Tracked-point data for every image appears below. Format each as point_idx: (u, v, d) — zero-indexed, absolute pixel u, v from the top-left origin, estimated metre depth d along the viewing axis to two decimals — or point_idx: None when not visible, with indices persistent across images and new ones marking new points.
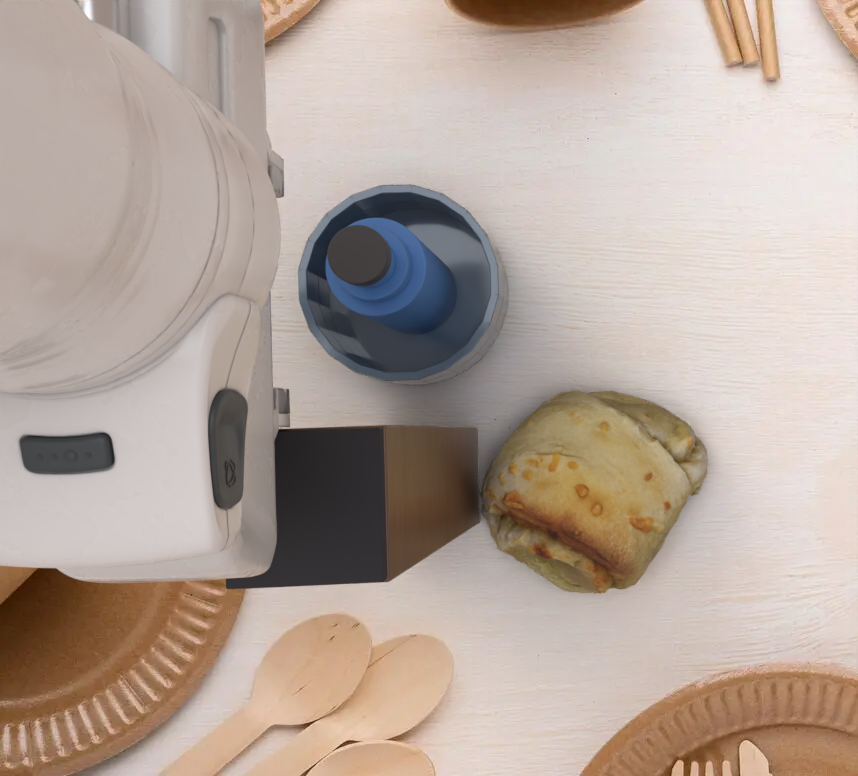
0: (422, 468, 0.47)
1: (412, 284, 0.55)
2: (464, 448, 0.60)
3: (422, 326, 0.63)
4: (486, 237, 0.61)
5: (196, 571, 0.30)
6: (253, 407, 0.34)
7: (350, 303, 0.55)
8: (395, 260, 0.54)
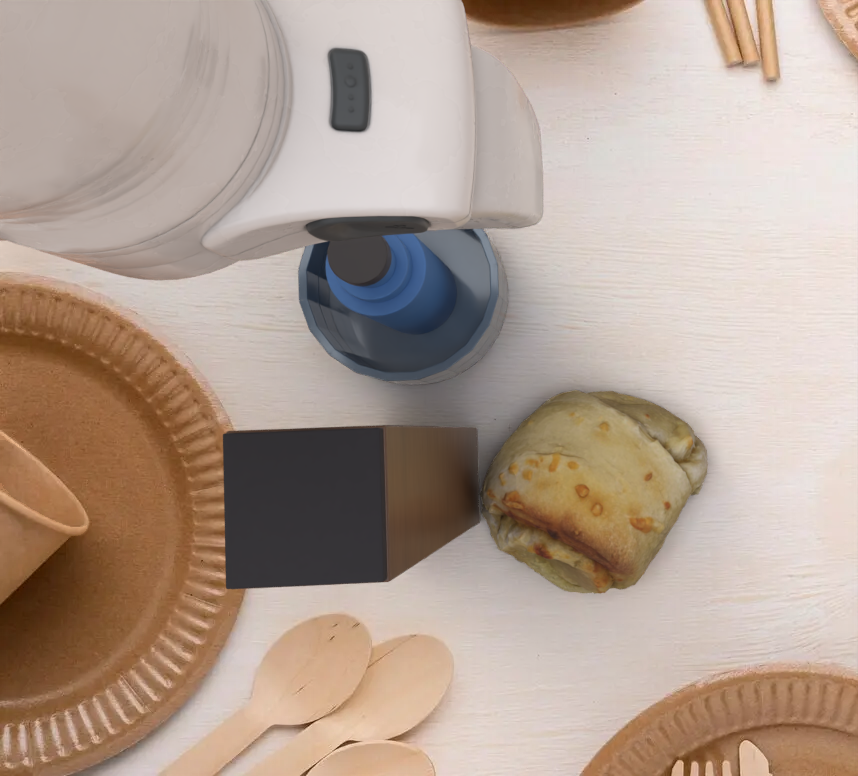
0: (422, 468, 0.47)
1: (412, 284, 0.55)
2: (464, 448, 0.60)
3: (422, 326, 0.63)
4: (486, 237, 0.61)
5: (502, 88, 0.32)
6: None
7: (350, 303, 0.55)
8: (395, 260, 0.54)
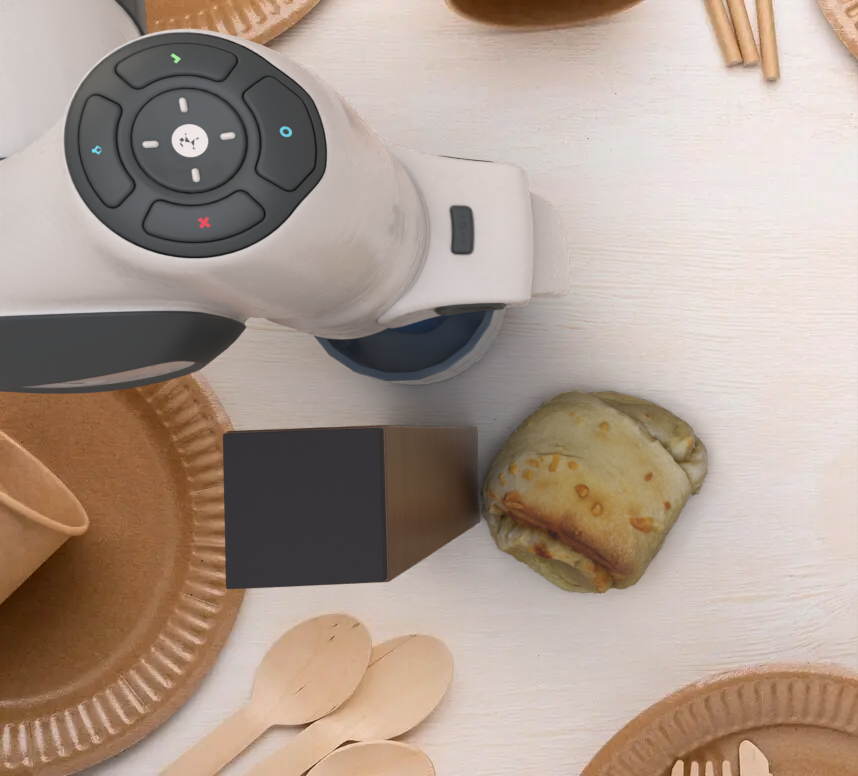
0: (422, 468, 0.47)
1: None
2: (464, 448, 0.60)
3: (421, 326, 0.63)
4: None
5: (547, 217, 0.51)
6: None
7: None
8: None
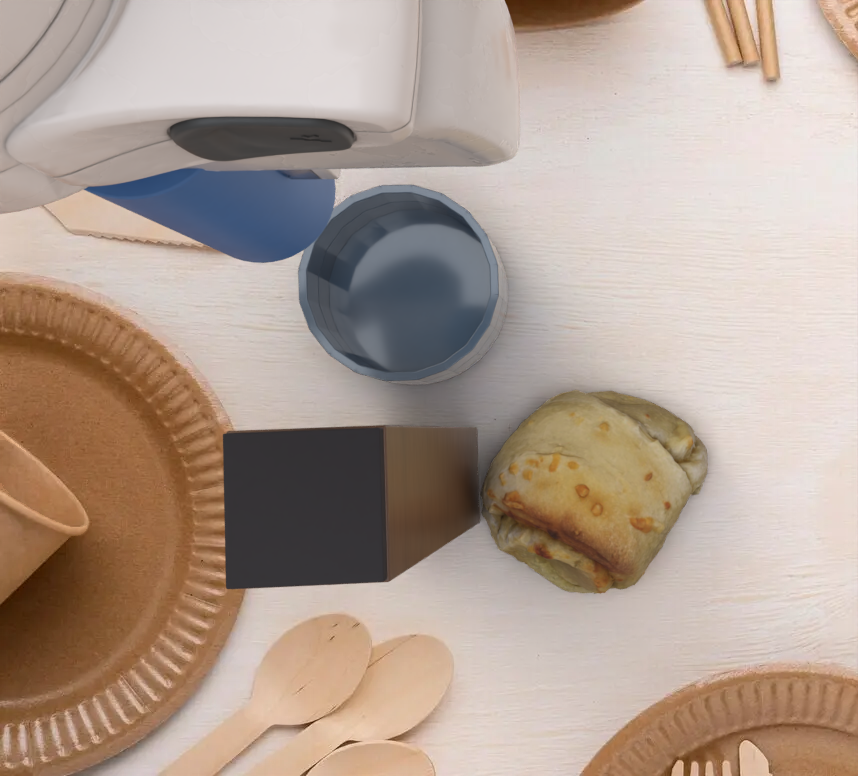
0: (422, 468, 0.47)
1: None
2: (464, 448, 0.60)
3: (264, 243, 0.35)
4: (486, 237, 0.61)
5: None
6: None
7: None
8: None
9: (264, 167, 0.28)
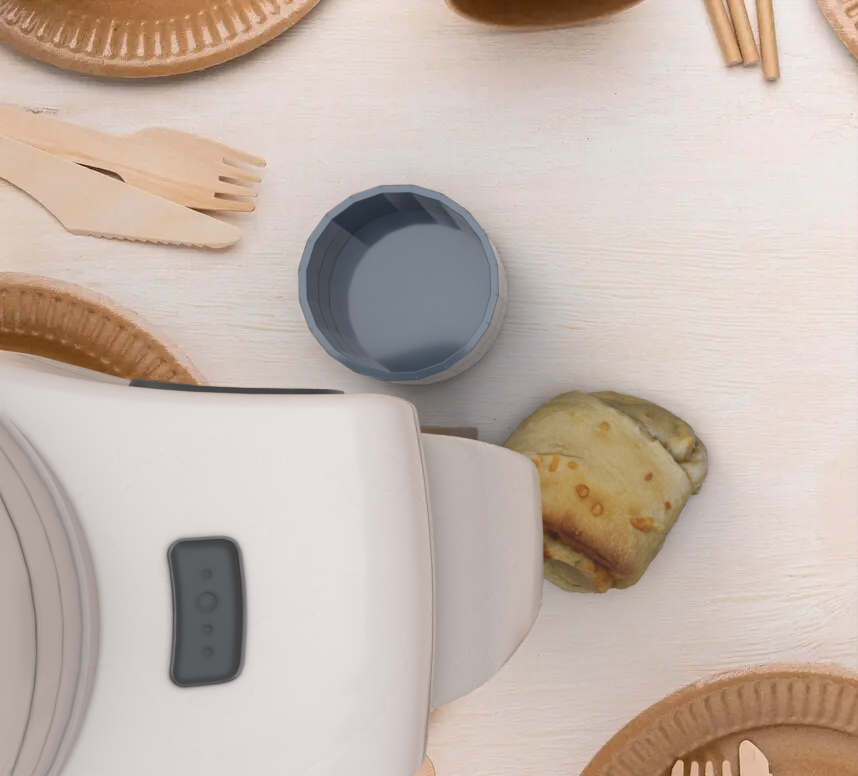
0: None
1: None
2: None
3: None
4: (486, 237, 0.61)
5: (481, 492, 0.20)
6: None
7: None
8: None
9: None
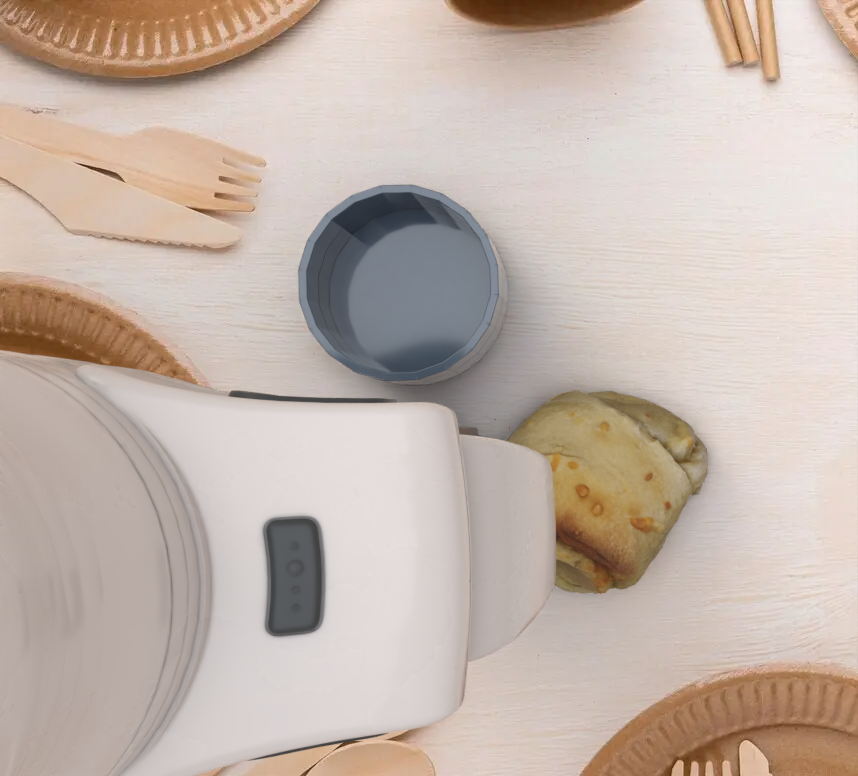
0: None
1: None
2: None
3: None
4: (486, 237, 0.61)
5: (506, 483, 0.24)
6: None
7: None
8: None
9: None
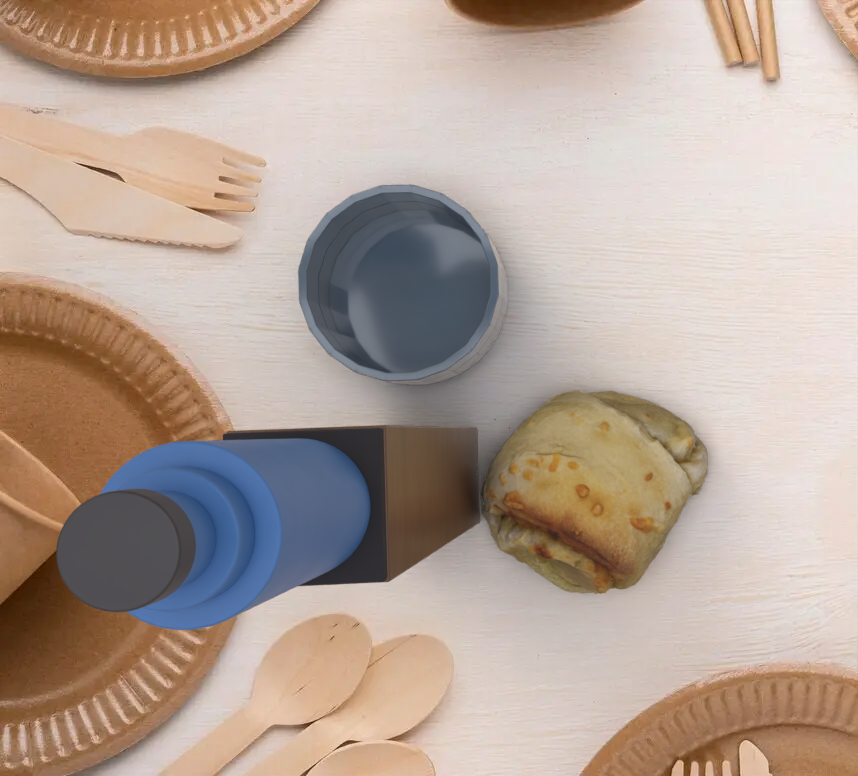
0: (422, 468, 0.47)
1: (255, 569, 0.29)
2: (464, 448, 0.60)
3: None
4: (486, 237, 0.61)
5: None
6: None
7: None
8: (214, 536, 0.28)
9: None
